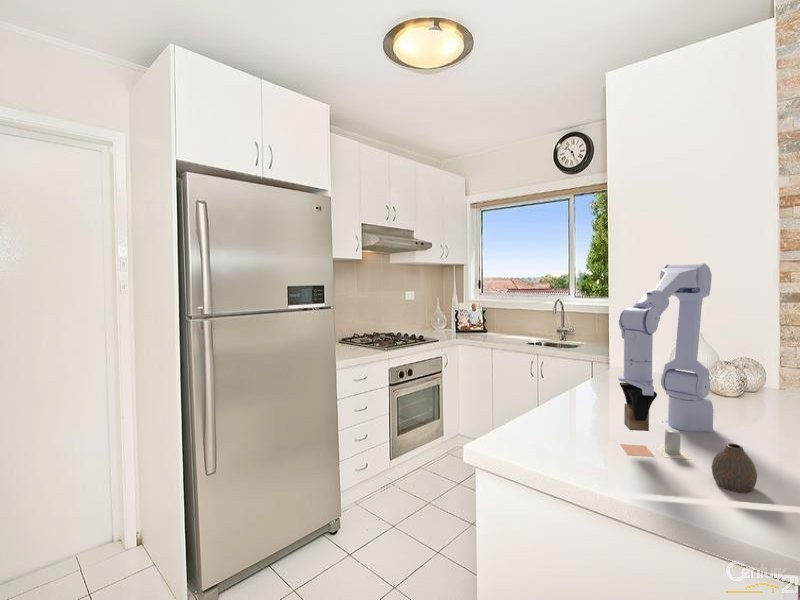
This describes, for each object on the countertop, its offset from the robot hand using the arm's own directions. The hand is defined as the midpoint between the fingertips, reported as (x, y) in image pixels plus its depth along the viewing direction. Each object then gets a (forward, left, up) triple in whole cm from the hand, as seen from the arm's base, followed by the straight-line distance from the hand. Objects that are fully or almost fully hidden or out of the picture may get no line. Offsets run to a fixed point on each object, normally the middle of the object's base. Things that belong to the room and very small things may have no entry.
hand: (637, 416), depth 98 cm
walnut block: (0, 0, -2) cm, 3 cm away
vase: (-13, +14, -9) cm, 21 cm away
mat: (-4, 0, -9) cm, 9 cm away
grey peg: (-8, 0, -8) cm, 11 cm away
